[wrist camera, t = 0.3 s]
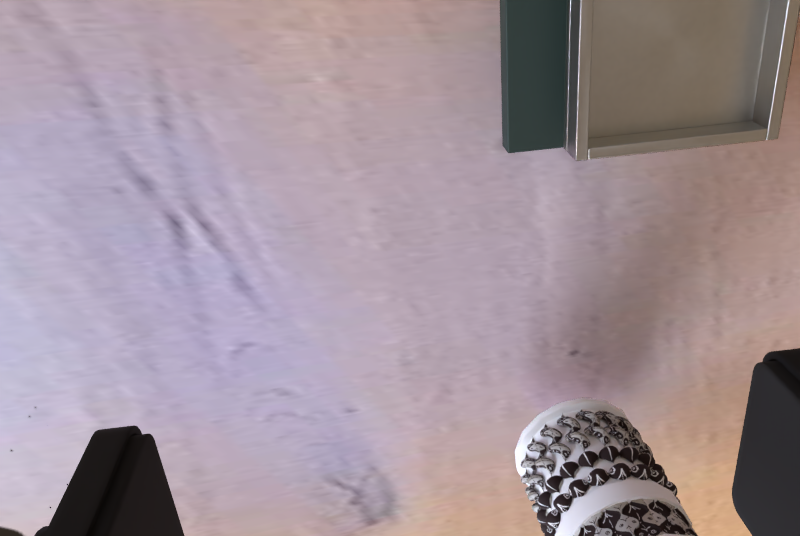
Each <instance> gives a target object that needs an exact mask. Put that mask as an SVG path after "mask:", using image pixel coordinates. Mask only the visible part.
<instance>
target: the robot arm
mask: <svg viewBox="0 0 800 536" xmlns="http://www.w3.org/2000/svg"><path fill="white" fill-rule="evenodd" d="M732 498H733V503H734V506H735V509H736V511H737V513H738V515H739V516H740V518H741V519H742V521H743V522H744V524H745V525H746V527H747V528H748V530H749V531H750V533H751V534H752V536H800V348H799V349H791V350H782V351H773V352H769V353H767V354H766V355H765V357H764V359H763V362H760V363H757V364H756V366H755V367H754V370H753V375H752V381H751V386H750V392H749V397H748V403H747V409H746V414H745V420H744V426H743V431H742V437H741V442H740V448H739V454H738V459H737V465H736V471H735V476H734V482H733V488H732ZM35 536H184V533H183V530H182V527H181V524H180V520H179V517H178V514H177V511H176V508H175V504H174V501H173V498H172V495H171V491H170V488H169V485H168V482H167V479H166V475H165V472H164V469H163V466H162V463H161V459H160V456H159V453H158V450H157V447H156V443H155V440H154V438H153V436H152V435H151V434H142V433H141V431H140V429H139V428H138V427H137V426H127V427H119V428H110V429H102V430H98V431H96V432H95V433H94V434H93V436H92V437H91V439H90V442H89V444H88V446H87V448H86V450H85V452H84V454H83V456H82V458H81V460H80V462H79V464H78V466H77V469H76V471H75V473H74V475H73V477H72V479H71V481H70V483H69V485H68V487H67V489H66V491H65V493H64V495H63V498H62V500H61V502H60V504H59V506H58V508H57V510H56V512H55V514H54V516H53V518H52V520H51V522H50V525H49V526H45V527H43V528H41V529H40V530H39V531H37V533H36V534H35Z"/></svg>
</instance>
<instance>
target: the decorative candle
mask: <svg viewBox="0 0 800 536" xmlns="http://www.w3.org/2000/svg"><path fill="white" fill-rule="evenodd" d="M515 457H516V466H517V471H518V473H519V474H520V476H521V482H522V483H524V484H527V485H528V486H529V487H527V488H526V489H525V492H526V493H527V494H528V499H529V500H530V501H534V500H536V501H535V504H533V505H532V509H533V511H534V512H538V513H537V519H538V521H539V523H541V530H542V531H543V533H545V536H697V534H696V533H695V531H694V530H693V528H692V523H691V521H690V519H689V518H688V516H687V514H686V513H685V511H684V509H683V508H682V506H681V505H680V501H679V499H678V498H677V497H676V495H677V488H676V486H675V485H674V484H673V483H672V482H669V481H668V480H667V476H666V475H665V472H664V469H663V468H662V466H660V465H658V464H655V460H654V458H653V454H652V451H651V449H650V447H649V446H648V445H647V444H646V443H644V442H643V440H642V438H641V435H640V433H639V432H638V430H637V429H635V428H634V427H632V425H631V423H630V422H629V421H628V419H627V417H626V416H625V414H624V412H623V411H622V410H621V409H619V408H618V407H616V406H614V405H613V404H611V403H609V402H607V401H606V400H600V399H592V398H583V397H582V398H578V399H573V400H569V401H564V402H560V403H557V404H556V405H554V406H552V407H550V408H549V409H547V410H545V411H544V412H542V413H540V414H538V415H537V416H536V417H535V418H534V419H533V420H532V422H531V423H530V424H529V425H528V426H527V427H526V428H525V429H524V430H523V432H522V433H521V436H520V439H519V441H518V444H517V447H516V449H515Z"/></svg>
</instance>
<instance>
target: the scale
mask: <svg viewBox="0 0 800 536" xmlns="http://www.w3.org/2000/svg"><path fill="white" fill-rule="evenodd" d="M566 19H567V0H500V31H501V83H502V134H503V146H504V148H505V149H506V151H507V152H508V153H515V152H524V151H533V150H542V149H551V148H561V147H564V109H565V64H566Z"/></svg>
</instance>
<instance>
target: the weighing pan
mask: <svg viewBox="0 0 800 536" xmlns="http://www.w3.org/2000/svg"><path fill="white" fill-rule="evenodd" d="M799 10H800V0H567V19H566V64H565V109H564V149H565V150H566V151H567V152H568V153H569V154H570V155H571V156H572V157H573V158H574V159H575V161H581V160H587V159H589V160H590V159H599V158H608V157H617V156H626V155H635V154H645V153H654V152H663V151H672V150H681V149H690V148H699V147H709V146H718V145H727V144H736V143H745V142H754V141H764V140H773V139H778V136H779V130H780V124H781V118H782V112H783V106H784V100H785V94H786V88H787V82H788V76H789V70H790V64H791V58H792V52H793V46H794V40H795V34H796V28H797V22H798V16H799Z"/></svg>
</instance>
